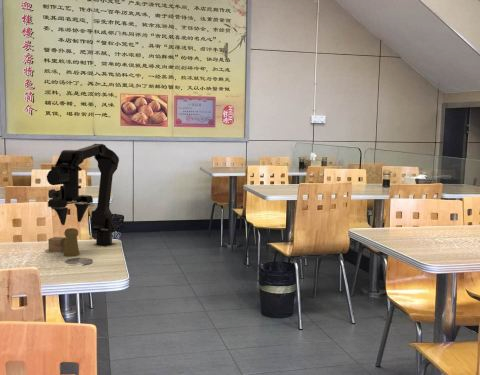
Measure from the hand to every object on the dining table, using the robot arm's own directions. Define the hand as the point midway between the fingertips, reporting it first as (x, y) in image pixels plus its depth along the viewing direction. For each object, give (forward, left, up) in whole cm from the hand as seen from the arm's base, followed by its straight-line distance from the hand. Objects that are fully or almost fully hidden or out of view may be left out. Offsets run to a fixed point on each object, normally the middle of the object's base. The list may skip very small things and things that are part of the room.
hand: (71, 223), depth 205 cm
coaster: (-3, -10, -13) cm, 17 cm away
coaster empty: (+6, +9, -13) cm, 17 cm away
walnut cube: (-3, -10, -12) cm, 16 cm away
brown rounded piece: (0, 0, -13) cm, 13 cm away
